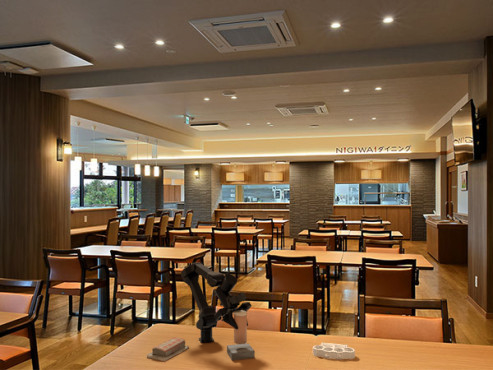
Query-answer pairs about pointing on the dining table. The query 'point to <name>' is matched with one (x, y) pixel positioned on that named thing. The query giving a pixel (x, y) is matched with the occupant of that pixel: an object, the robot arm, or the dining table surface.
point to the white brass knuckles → (334, 351)
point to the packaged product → (168, 349)
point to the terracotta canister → (240, 327)
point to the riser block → (240, 351)
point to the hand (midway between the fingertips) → (242, 327)
